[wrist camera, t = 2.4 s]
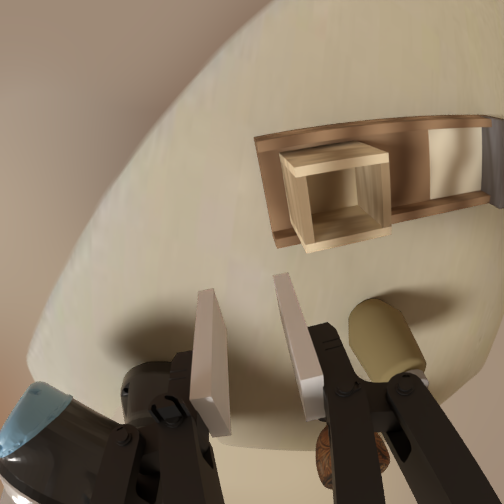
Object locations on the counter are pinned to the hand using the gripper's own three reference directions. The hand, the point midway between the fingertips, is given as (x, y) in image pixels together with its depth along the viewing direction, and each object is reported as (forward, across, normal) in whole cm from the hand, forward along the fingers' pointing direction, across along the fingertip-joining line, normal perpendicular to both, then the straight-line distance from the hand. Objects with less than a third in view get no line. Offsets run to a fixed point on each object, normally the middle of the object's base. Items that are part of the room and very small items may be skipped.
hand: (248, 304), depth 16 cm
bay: (+19, +18, 0) cm, 26 cm away
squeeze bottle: (+19, +14, -20) cm, 31 cm away
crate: (+17, +9, 0) cm, 20 cm away
